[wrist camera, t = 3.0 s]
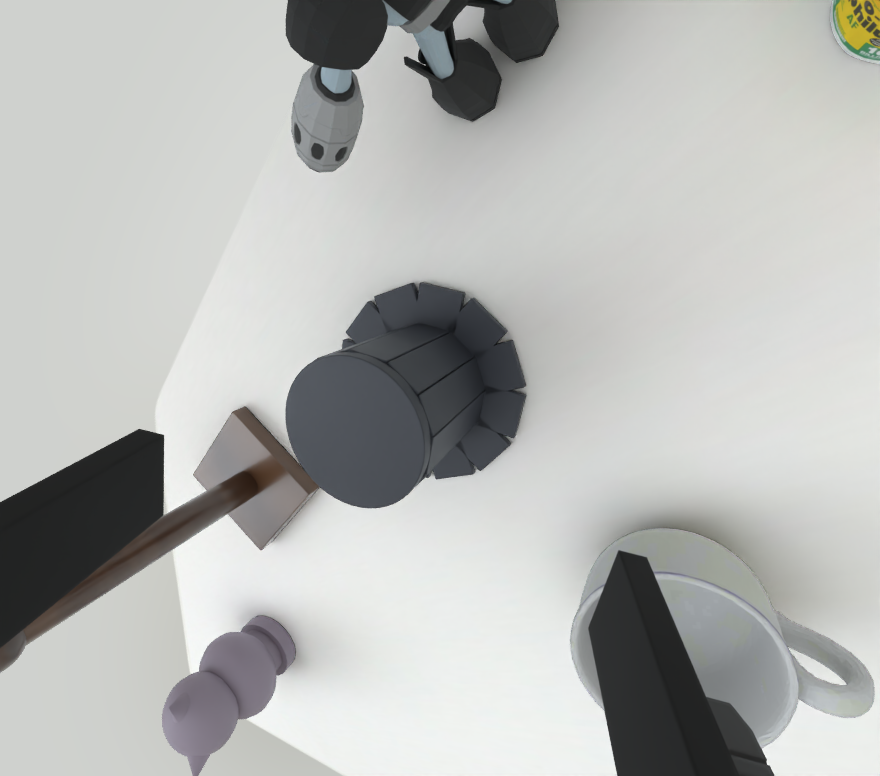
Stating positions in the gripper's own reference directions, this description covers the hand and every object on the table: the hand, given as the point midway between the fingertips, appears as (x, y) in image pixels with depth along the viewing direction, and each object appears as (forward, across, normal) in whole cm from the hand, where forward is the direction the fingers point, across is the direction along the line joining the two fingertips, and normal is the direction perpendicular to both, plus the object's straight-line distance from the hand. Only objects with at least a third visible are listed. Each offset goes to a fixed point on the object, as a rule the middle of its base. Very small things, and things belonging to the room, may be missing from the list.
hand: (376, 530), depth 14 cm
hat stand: (+26, -16, -17) cm, 35 cm away
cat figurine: (+27, -13, -37) cm, 48 cm away
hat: (+22, -2, -3) cm, 22 cm away
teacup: (+17, +19, -10) cm, 27 cm away
